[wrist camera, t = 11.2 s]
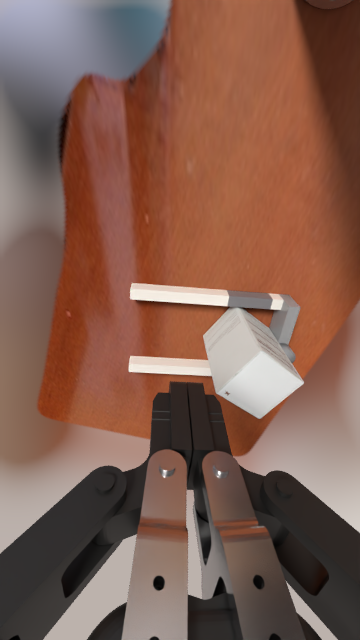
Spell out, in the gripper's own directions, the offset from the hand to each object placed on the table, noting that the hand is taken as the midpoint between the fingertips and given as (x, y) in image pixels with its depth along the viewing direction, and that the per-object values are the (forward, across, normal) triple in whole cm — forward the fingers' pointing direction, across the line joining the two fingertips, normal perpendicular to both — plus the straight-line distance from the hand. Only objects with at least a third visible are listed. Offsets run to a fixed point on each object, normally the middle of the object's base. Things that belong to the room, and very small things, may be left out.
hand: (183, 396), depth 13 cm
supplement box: (+27, -11, +12) cm, 31 cm away
